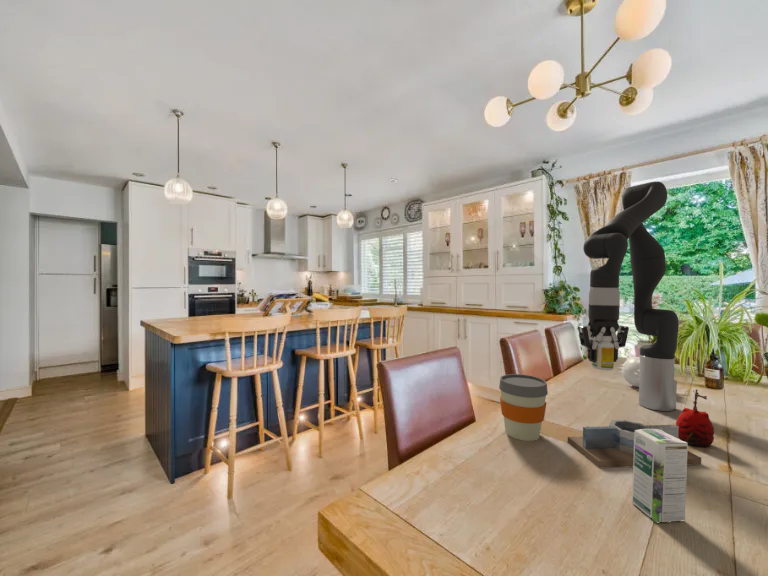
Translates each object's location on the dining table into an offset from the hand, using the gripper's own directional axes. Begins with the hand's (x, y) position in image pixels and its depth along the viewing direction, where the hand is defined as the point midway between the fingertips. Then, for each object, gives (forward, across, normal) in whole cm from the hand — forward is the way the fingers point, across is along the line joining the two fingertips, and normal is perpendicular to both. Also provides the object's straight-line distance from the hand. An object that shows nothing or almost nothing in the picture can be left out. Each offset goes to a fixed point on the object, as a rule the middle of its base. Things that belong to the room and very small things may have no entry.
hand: (602, 361), depth 98 cm
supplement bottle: (+2, 0, 0) cm, 2 cm away
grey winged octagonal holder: (+18, +3, +14) cm, 23 cm away
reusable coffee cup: (+20, +25, +2) cm, 32 cm away
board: (+19, +3, +14) cm, 24 cm away
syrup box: (+20, +14, +35) cm, 43 cm away
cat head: (+20, -42, -35) cm, 58 cm away
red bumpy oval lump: (+20, -18, +10) cm, 29 cm away
